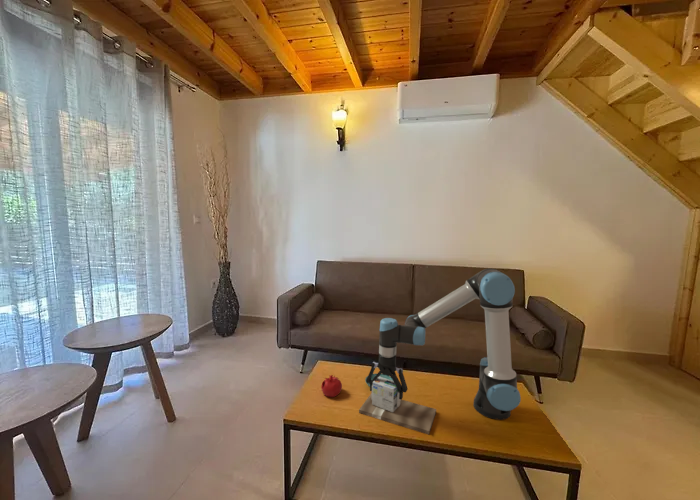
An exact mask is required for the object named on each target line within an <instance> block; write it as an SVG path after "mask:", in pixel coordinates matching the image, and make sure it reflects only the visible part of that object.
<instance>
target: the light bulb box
mask: <svg viewBox="0 0 700 500" xmlns="http://www.w3.org/2000/svg"><path fill="white" fill-rule="evenodd" d="M398 391H399V390H398V388H397V387H396V385H395V383H394V381H392V380H389V379H386V378H383V377H380V376H379V377H378V378H377V379H376V380H375V381H373V390H372V391H371V393H372V405H375V406H378V407H380V408H383V409H385V410H388V411H390V412H394V411H395V410H396V409H397V408H398V407H397V392H398Z"/></svg>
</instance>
